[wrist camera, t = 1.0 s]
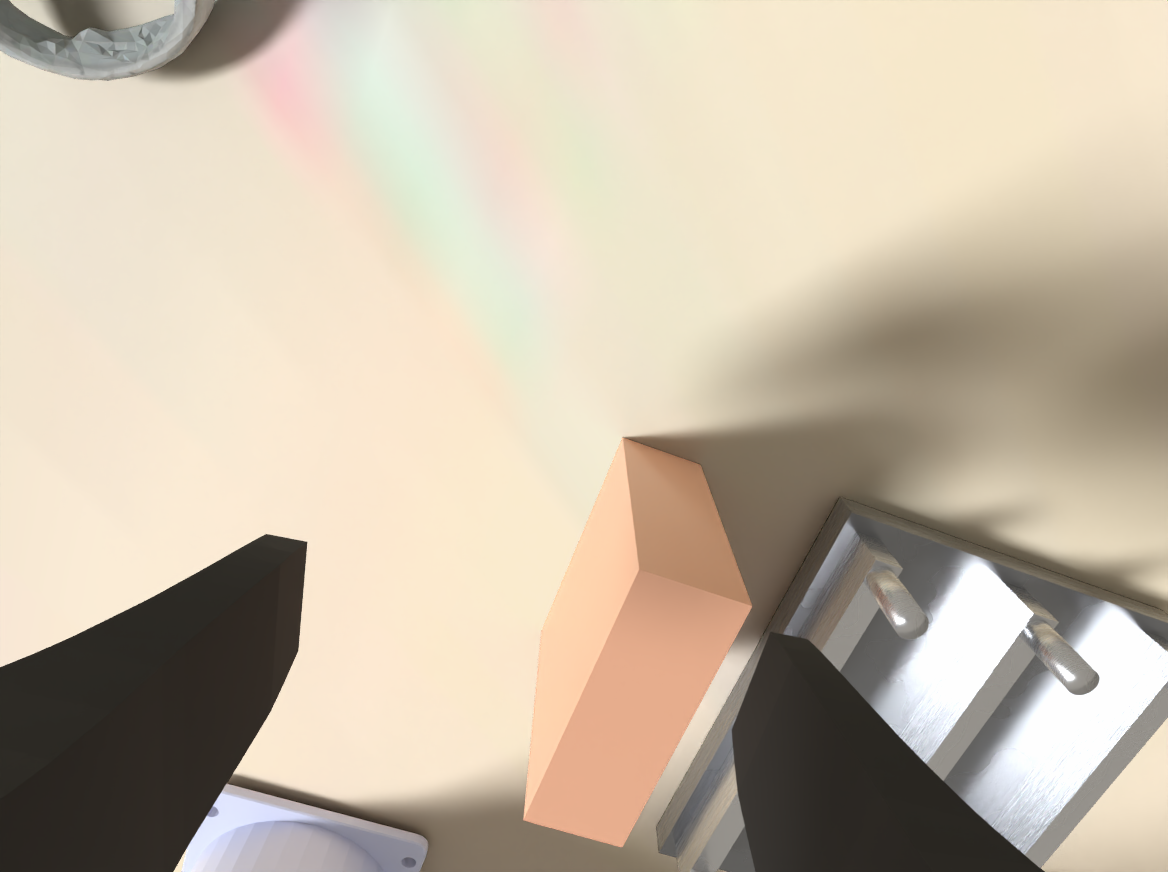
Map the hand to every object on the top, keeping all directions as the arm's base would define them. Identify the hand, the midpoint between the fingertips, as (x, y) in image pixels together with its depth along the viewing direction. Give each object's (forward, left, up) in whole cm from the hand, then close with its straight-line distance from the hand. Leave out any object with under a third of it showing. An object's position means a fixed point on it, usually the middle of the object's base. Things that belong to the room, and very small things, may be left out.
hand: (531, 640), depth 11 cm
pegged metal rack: (-6, -14, -10) cm, 18 cm away
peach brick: (-3, -3, -10) cm, 11 cm away
